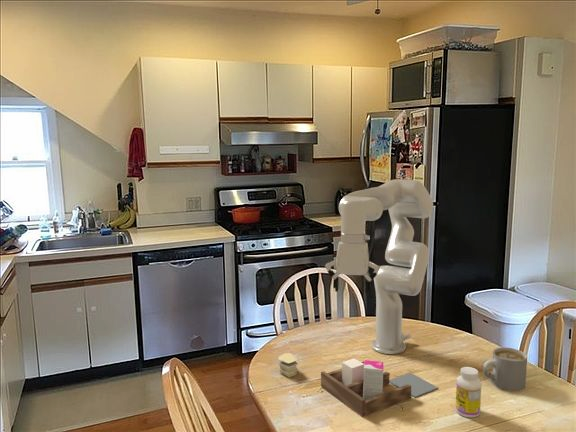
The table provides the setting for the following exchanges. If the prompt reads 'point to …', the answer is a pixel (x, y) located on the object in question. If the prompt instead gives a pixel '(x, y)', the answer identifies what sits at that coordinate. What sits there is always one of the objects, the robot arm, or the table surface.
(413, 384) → the mat
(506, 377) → the coffee mug
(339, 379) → the lane rack
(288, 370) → the beige ridged block
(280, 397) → the table surface
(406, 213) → the robot arm
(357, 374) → the off-white block
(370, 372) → the supplement box
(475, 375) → the supplement bottle
